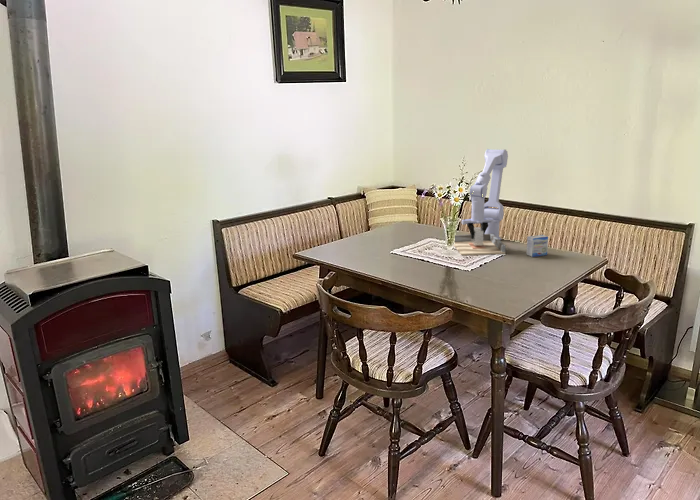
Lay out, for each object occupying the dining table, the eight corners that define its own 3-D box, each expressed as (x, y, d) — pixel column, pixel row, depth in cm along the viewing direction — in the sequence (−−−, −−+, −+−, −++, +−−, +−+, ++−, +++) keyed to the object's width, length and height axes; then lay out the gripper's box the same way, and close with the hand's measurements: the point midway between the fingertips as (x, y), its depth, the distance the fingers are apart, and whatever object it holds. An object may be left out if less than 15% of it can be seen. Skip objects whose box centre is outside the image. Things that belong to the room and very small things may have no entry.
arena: (451, 242, 267) (451, 235, 266) (492, 240, 267) (492, 233, 266) (461, 255, 246) (461, 247, 245) (505, 253, 246) (505, 245, 245)
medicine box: (531, 257, 239) (532, 238, 237) (526, 254, 244) (527, 236, 241) (547, 255, 241) (548, 236, 239) (541, 252, 246) (542, 234, 243)
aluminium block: (474, 245, 254) (474, 231, 252) (471, 241, 260) (471, 227, 259) (483, 245, 254) (483, 230, 252) (479, 241, 260) (479, 227, 259)
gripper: (464, 212, 249) (463, 241, 253) (495, 211, 249) (494, 239, 253) (460, 209, 256) (460, 237, 259) (491, 208, 256) (490, 236, 259)
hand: (477, 238), depth 256 cm, fingers closed on aluminium block, 4 cm apart
